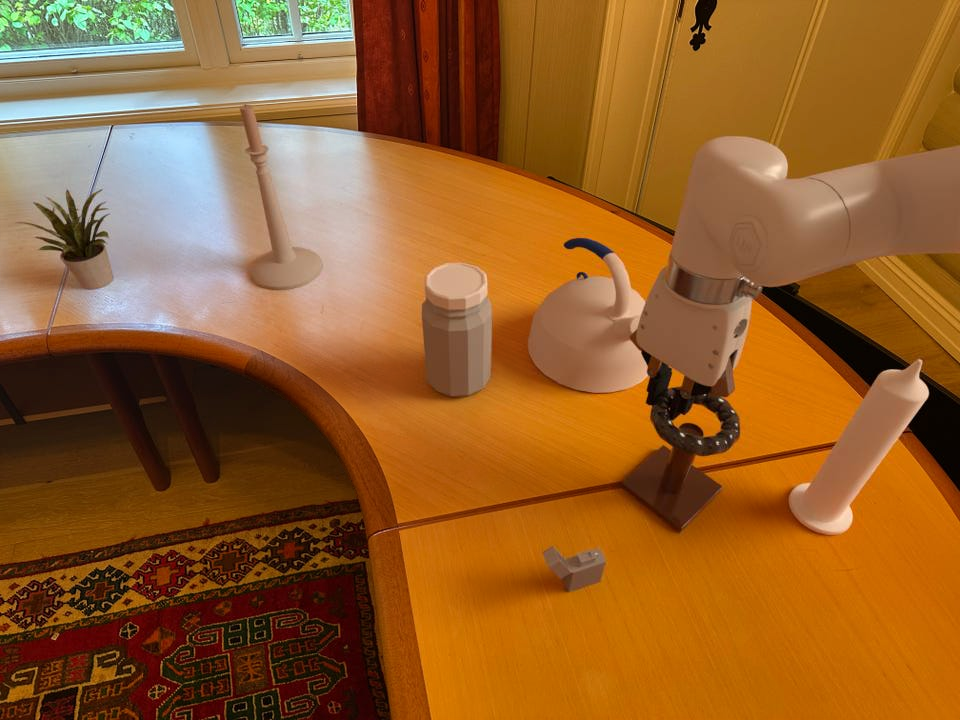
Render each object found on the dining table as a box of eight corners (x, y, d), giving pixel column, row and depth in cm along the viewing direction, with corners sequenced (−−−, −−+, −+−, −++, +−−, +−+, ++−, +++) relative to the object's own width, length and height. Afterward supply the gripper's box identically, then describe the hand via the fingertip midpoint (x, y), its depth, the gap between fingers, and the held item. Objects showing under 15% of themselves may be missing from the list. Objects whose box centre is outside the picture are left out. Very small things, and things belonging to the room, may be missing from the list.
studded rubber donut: (753, 427, 68) (759, 415, 67) (705, 474, 63) (711, 462, 62) (681, 382, 73) (685, 370, 72) (632, 422, 68) (635, 410, 67)
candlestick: (336, 268, 112) (305, 103, 92) (276, 298, 105) (228, 127, 85) (297, 243, 119) (259, 83, 98) (238, 270, 112) (185, 104, 91)
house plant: (159, 257, 115) (125, 176, 104) (132, 300, 105) (91, 216, 94) (82, 258, 114) (40, 177, 103) (47, 303, 104) (-4, 218, 93)
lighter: (594, 567, 68) (604, 528, 63) (601, 581, 67) (612, 543, 62) (536, 586, 67) (541, 548, 61) (542, 601, 65) (548, 563, 60)
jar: (436, 408, 86) (429, 308, 74) (418, 364, 93) (410, 265, 81) (500, 392, 89) (504, 293, 76) (478, 350, 95) (479, 253, 83)
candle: (777, 488, 76) (863, 338, 59) (830, 483, 77) (930, 333, 60) (806, 538, 71) (908, 389, 54) (862, 532, 72) (981, 383, 55)
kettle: (569, 412, 86) (584, 312, 74) (505, 327, 100) (509, 231, 87) (684, 372, 92) (716, 273, 80) (609, 297, 106) (626, 203, 94)
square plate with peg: (721, 491, 76) (747, 434, 69) (679, 533, 72) (703, 477, 64) (661, 449, 81) (680, 391, 74) (619, 486, 77) (634, 429, 69)
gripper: (806, 295, 55) (746, 429, 67) (660, 227, 64) (630, 357, 76) (764, 330, 51) (709, 465, 64) (615, 253, 60) (591, 385, 73)
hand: (666, 405), depth 70 cm, fingers closed on studded rubber donut, 2 cm apart
